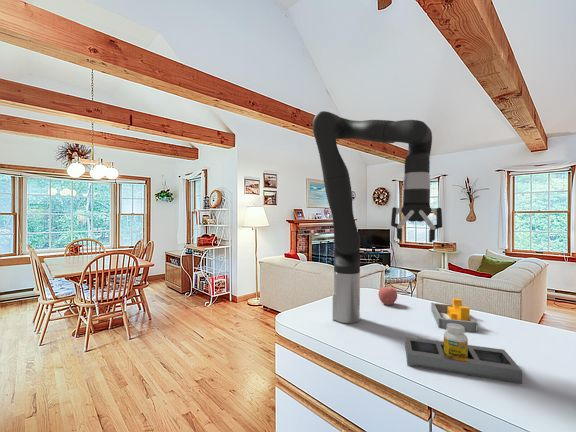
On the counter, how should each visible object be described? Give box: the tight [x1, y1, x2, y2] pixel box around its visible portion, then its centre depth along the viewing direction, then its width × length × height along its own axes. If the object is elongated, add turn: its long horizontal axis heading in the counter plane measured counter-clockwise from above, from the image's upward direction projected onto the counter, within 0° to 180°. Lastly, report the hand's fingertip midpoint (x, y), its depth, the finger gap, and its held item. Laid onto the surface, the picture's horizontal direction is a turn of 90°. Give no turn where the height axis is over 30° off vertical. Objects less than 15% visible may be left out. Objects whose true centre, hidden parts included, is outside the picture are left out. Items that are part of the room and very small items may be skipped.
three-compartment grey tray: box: [404, 336, 523, 385], centre depth 75 cm, size 24×11×3 cm, turn 71°
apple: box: [378, 285, 398, 306], centre depth 125 cm, size 7×7×8 cm
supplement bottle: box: [443, 323, 469, 358], centre depth 76 cm, size 5×5×10 cm
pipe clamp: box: [447, 298, 471, 321], centre depth 106 cm, size 12×4×6 cm, turn 163°
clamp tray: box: [430, 302, 477, 333], centre depth 106 cm, size 11×19×3 cm, turn 161°
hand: (415, 241), depth 90 cm, fingers open, 8 cm apart
